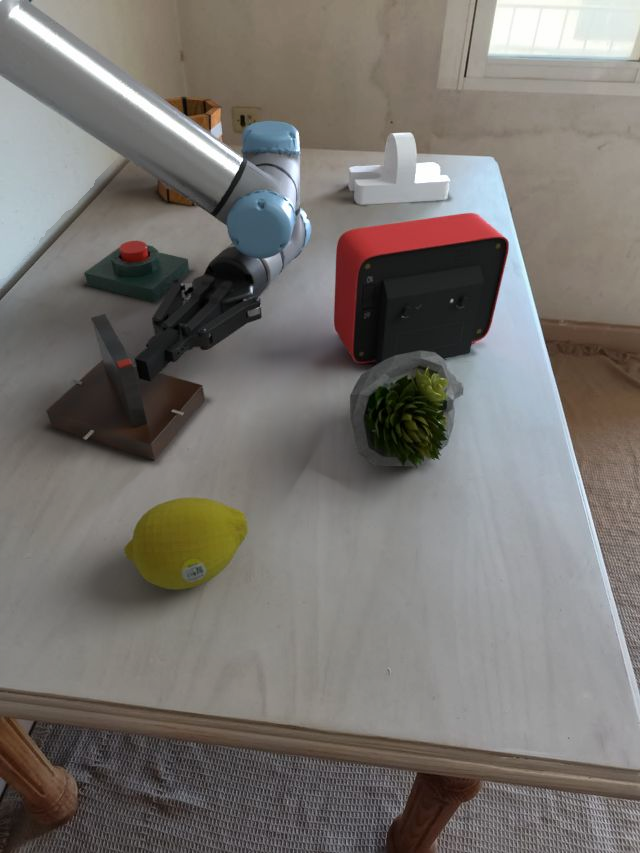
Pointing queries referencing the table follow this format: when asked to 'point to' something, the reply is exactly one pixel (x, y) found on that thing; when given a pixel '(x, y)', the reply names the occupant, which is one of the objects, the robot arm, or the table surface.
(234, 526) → the lemon
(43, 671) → the table surface
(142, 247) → the button
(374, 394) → the potted plant
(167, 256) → the button block
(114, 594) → the table surface
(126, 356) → the dark grey slab
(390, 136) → the white caddy with handle
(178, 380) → the dial panel
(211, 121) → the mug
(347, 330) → the alarm clock
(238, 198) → the robot arm
